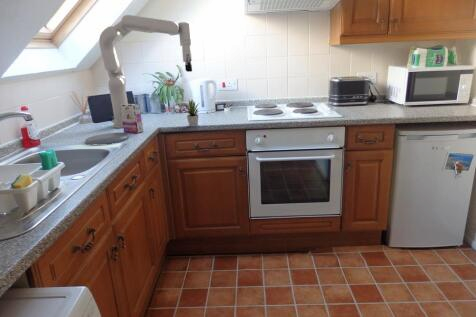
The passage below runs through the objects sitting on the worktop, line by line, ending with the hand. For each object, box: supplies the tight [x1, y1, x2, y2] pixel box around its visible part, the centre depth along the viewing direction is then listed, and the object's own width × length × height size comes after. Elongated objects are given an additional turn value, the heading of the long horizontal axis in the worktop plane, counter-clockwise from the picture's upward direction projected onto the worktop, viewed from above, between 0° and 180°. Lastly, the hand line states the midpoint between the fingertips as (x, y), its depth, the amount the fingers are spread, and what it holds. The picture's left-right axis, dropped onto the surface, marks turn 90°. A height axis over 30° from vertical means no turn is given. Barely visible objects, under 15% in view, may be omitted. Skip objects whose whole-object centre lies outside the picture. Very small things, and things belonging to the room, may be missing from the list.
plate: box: [85, 132, 130, 145], centre depth 192 cm, size 22×22×2 cm
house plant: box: [182, 99, 200, 127], centre depth 216 cm, size 14×14×16 cm
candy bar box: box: [120, 103, 144, 134], centre depth 206 cm, size 11×5×16 cm, turn 62°
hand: (188, 71), depth 228 cm, fingers open, 9 cm apart
